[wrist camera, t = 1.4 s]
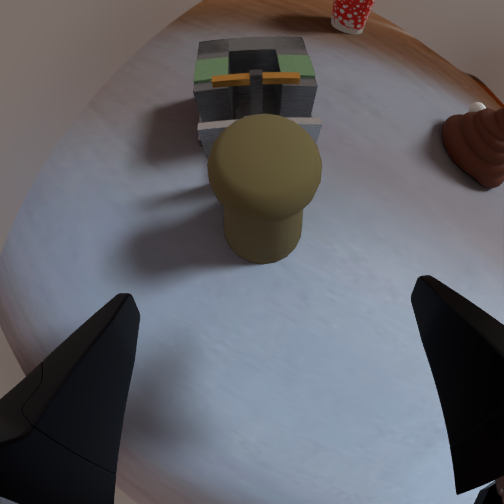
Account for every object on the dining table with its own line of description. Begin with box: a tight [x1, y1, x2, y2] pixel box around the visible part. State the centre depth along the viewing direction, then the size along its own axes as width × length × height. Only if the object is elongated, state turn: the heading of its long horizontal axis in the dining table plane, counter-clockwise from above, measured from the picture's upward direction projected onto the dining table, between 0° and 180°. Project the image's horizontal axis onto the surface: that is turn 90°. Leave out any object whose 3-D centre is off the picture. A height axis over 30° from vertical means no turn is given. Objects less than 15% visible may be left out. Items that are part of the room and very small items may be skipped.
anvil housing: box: [193, 37, 318, 146], centre depth 20 cm, size 6×10×7 cm, turn 93°
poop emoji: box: [442, 102, 504, 188], centre depth 18 cm, size 10×8×9 cm
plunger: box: [198, 69, 322, 159], centre depth 18 cm, size 4×7×8 cm, turn 93°
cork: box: [207, 114, 322, 264], centre depth 16 cm, size 6×6×11 cm
